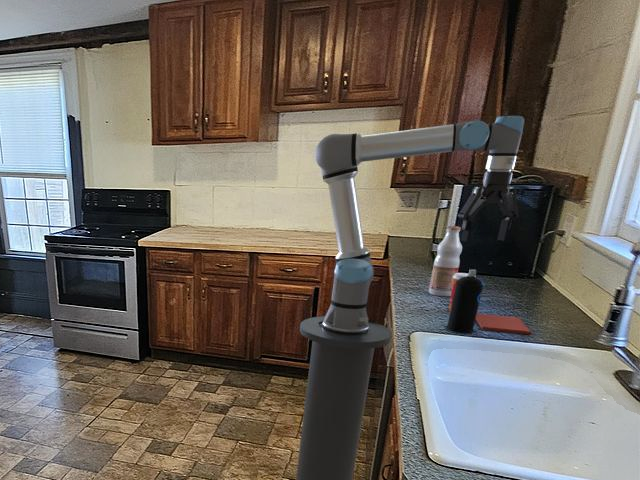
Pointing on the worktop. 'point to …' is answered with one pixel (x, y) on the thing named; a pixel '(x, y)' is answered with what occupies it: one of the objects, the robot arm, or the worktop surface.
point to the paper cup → (455, 278)
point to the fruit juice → (446, 263)
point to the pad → (502, 324)
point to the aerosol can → (465, 303)
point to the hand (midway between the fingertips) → (483, 240)
